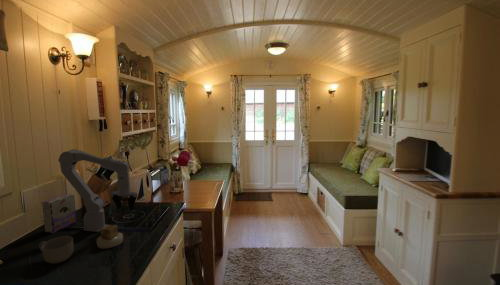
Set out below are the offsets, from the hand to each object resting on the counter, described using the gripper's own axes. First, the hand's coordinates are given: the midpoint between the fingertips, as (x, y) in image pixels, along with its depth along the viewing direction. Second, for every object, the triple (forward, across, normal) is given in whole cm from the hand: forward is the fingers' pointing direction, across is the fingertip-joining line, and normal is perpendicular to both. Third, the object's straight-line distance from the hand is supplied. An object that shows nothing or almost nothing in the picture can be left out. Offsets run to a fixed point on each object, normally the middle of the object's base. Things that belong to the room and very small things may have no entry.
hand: (125, 209), depth 143 cm
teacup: (+10, -7, -35) cm, 37 cm away
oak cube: (+7, +5, -18) cm, 20 cm away
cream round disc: (+10, +5, -18) cm, 21 cm away
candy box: (+10, -33, -9) cm, 36 cm away
